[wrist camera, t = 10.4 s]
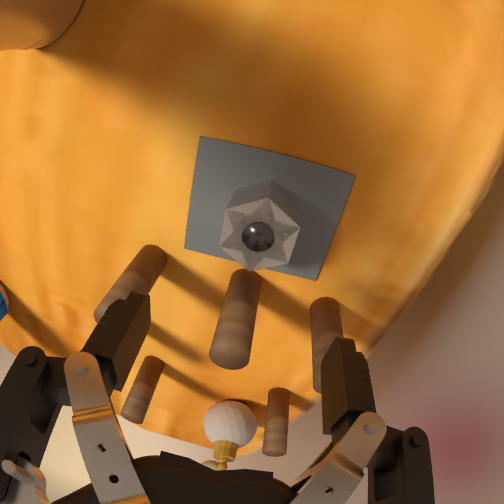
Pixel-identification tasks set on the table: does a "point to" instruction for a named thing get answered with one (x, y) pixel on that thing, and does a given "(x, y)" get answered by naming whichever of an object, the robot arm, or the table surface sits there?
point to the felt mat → (257, 171)
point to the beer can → (3, 302)
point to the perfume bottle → (228, 431)
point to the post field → (224, 340)
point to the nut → (260, 226)
